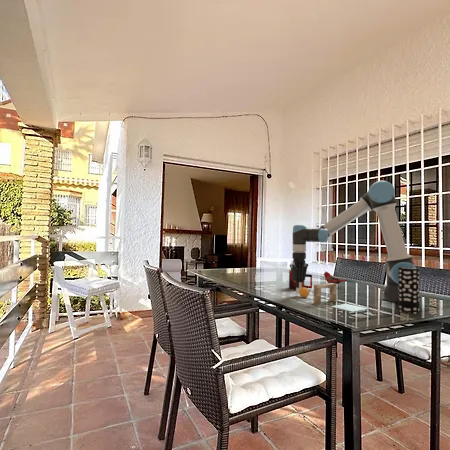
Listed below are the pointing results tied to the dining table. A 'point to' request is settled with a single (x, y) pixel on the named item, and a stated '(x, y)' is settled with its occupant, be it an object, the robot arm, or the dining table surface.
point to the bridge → (331, 294)
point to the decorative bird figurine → (332, 278)
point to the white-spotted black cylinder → (408, 290)
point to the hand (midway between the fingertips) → (298, 293)
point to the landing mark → (349, 307)
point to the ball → (304, 292)
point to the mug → (293, 284)
